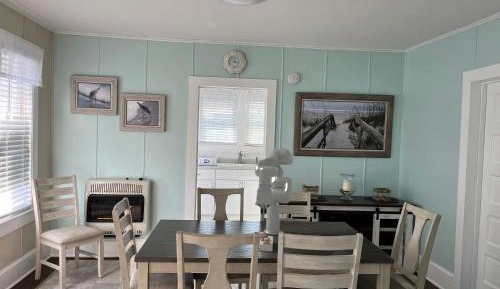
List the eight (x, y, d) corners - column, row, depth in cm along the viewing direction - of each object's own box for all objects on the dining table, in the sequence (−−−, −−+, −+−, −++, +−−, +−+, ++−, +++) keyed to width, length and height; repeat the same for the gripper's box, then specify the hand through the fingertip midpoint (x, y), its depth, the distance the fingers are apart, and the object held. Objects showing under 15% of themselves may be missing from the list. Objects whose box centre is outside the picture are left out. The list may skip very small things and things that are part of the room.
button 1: (260, 236, 252) (260, 231, 252) (266, 237, 252) (266, 232, 252) (259, 238, 248) (259, 233, 248) (265, 238, 248) (266, 233, 248)
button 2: (263, 242, 239) (264, 237, 239) (270, 243, 239) (270, 237, 238) (263, 244, 235) (263, 239, 235) (270, 245, 235) (270, 239, 235)
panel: (257, 241, 253) (257, 235, 253) (272, 242, 253) (272, 236, 252) (256, 250, 234) (256, 244, 234) (272, 251, 234) (272, 245, 234)
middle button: (261, 239, 246) (262, 234, 245) (268, 239, 245) (268, 234, 245) (261, 241, 242) (261, 236, 241) (267, 241, 241) (268, 236, 241)
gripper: (276, 186, 252) (275, 213, 253) (253, 185, 253) (252, 212, 254) (276, 187, 244) (275, 216, 245) (252, 186, 245) (251, 215, 246)
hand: (263, 214), depth 249 cm, fingers closed
